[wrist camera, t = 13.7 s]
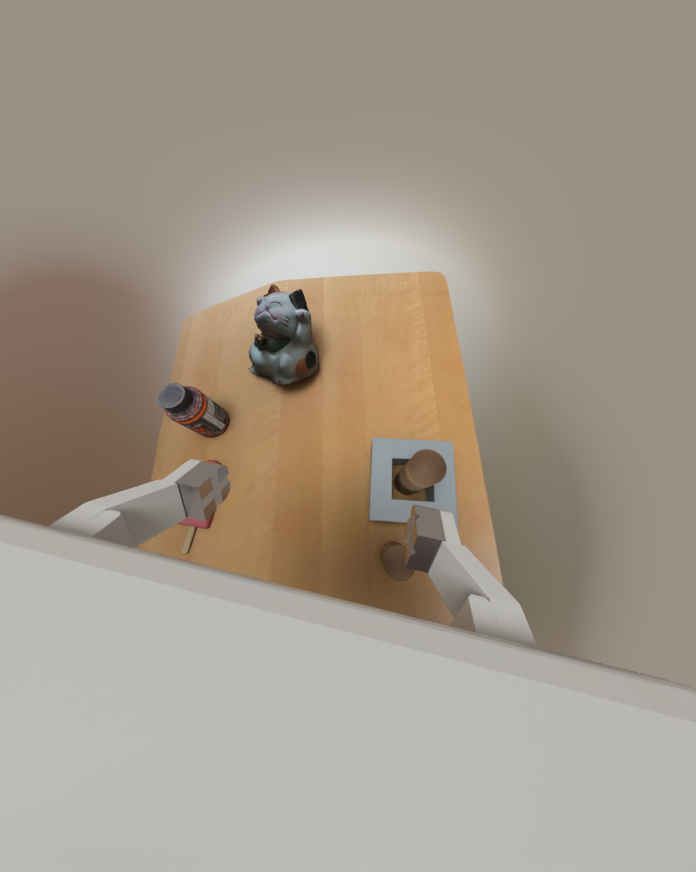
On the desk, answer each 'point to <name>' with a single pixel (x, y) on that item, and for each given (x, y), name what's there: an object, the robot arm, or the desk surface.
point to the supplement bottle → (193, 409)
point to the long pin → (420, 472)
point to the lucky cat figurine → (283, 338)
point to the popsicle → (194, 526)
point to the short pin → (395, 561)
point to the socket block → (400, 454)
